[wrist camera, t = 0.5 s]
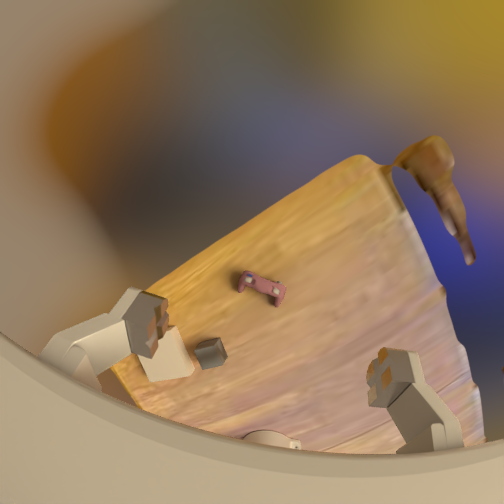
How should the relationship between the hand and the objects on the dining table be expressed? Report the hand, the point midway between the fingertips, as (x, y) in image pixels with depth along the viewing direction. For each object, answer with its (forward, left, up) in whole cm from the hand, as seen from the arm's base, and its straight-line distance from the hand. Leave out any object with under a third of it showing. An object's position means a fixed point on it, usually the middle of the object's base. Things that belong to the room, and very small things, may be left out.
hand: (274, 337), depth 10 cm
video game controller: (-6, +9, -51) cm, 52 cm away
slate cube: (-17, +25, -51) cm, 59 cm away
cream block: (-15, +38, -51) cm, 66 cm away
